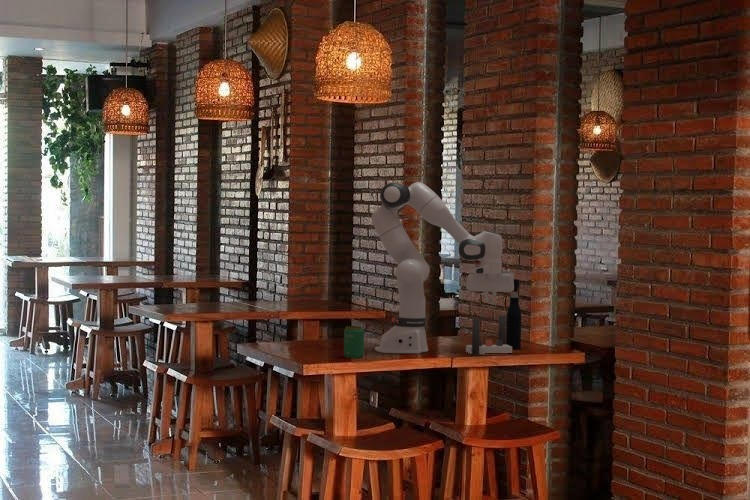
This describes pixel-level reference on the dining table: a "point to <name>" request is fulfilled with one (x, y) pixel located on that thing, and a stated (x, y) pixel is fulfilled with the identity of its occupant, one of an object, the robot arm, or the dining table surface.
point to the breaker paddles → (489, 342)
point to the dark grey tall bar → (475, 336)
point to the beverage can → (354, 342)
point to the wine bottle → (514, 320)
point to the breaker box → (491, 349)
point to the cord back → (502, 328)
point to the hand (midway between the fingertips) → (489, 302)
